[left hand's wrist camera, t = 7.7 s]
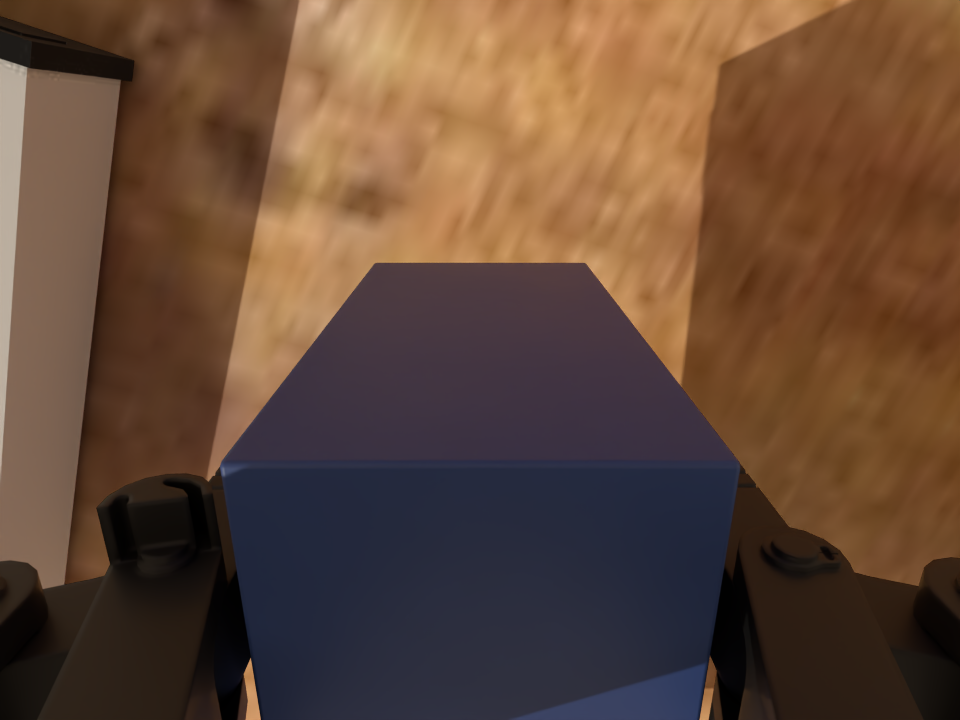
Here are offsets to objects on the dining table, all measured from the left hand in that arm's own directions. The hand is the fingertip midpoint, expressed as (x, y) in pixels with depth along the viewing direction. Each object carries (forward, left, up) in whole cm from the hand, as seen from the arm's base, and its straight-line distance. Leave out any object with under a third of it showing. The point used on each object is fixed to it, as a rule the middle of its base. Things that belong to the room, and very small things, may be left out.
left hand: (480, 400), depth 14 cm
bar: (+9, +5, -1) cm, 10 cm away
